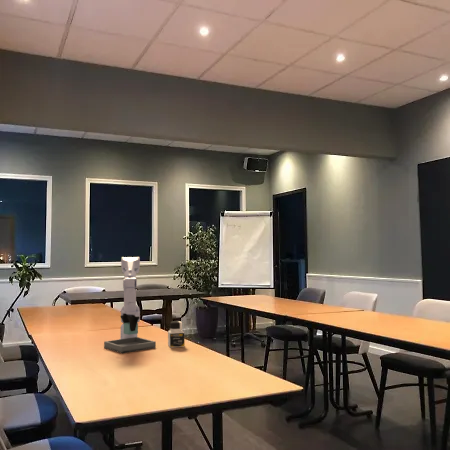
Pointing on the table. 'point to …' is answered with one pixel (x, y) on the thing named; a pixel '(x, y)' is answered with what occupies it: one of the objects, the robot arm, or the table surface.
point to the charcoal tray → (129, 344)
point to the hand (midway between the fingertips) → (129, 330)
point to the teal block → (127, 329)
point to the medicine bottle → (176, 335)
